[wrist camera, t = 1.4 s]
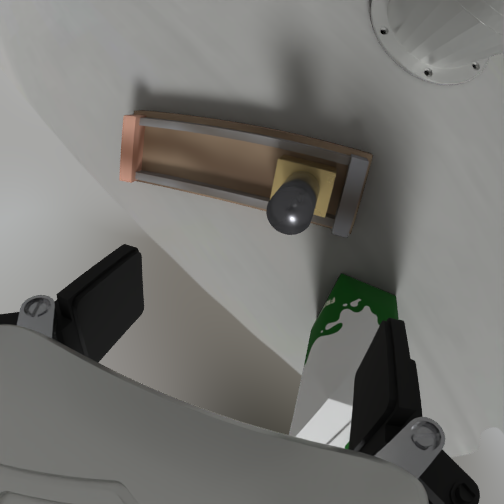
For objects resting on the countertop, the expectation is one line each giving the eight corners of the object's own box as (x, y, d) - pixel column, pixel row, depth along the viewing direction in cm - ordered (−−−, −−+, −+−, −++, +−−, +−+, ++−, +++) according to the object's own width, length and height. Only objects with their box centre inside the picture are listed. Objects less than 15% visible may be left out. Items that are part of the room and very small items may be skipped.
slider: (284, 154, 29) (257, 173, 20) (336, 167, 28) (334, 193, 19) (275, 194, 30) (247, 231, 22) (326, 207, 30) (319, 250, 21)
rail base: (141, 110, 32) (121, 112, 29) (371, 153, 28) (375, 159, 25) (136, 176, 36) (116, 184, 32) (350, 228, 32) (351, 243, 28)
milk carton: (370, 346, 37) (367, 492, 19) (305, 321, 38) (267, 468, 20) (406, 291, 33) (437, 445, 15) (335, 262, 34) (318, 415, 16)
